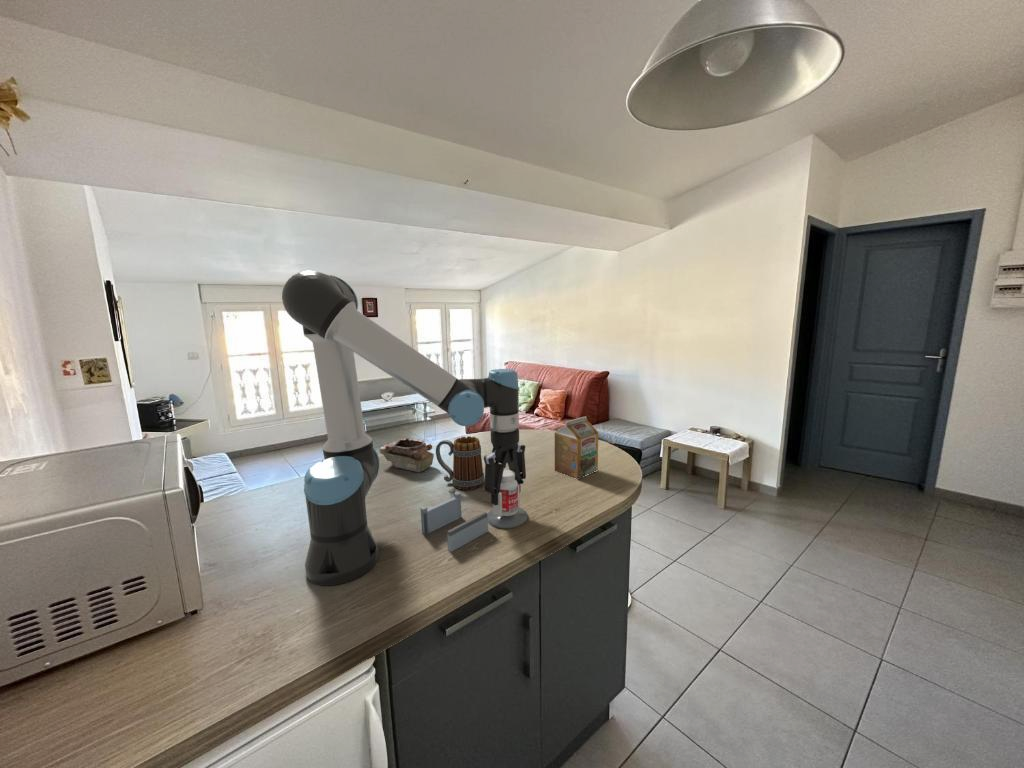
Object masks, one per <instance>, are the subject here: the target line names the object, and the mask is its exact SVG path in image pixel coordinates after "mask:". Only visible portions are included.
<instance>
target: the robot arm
mask: <svg viewBox="0 0 1024 768" xmlns="http://www.w3.org/2000/svg"><path fill="white" fill-rule="evenodd" d="M281 300H282V306H284V310H285V311H286V313H287V315H289V317H291V319H293V320H294V321H295V322H297V323H298V324H299V325H301V326H302V330H303V336H304V337H305V338H307V339H308V340H309V341H310V342H312V347H313V352H314V358H315V366H316V371H317V377H318V378H317V379H318V384H319V390H320V396H321V403H322V409H323V415H324V423H325V429H326V435H327V439H326V440H327V441H326V442H324V444H323V446H322V452H323V459H322V460H321V461H320V462H319V461H318V462H316V463H314V464H313V465H312V466H310V467H309V468H308V469H307V471H306V473H305V474H304V480H303V481H304V484H303V493H304V496H305V503H306V511H307V518H308V519H307V520H308V524H309V533H310V541H309V546H308V549H307V554H306V558H305V562H304V568H305V569H304V570H305V576H306V578H307V580H308V581H310V582H311V583H314V584H315V585H321V586H337V585H340V584H341V585H342V584H345V583H349V582H351V581H354V580H356V579H359V578H360V577H362V576H364V575H365V574H367V573H368V572H369V571H371V569H373V567H375V565H376V564H377V562H378V560H379V547H378V543H377V542H376V539H375V537H374V535H373V534H372V531H371V529H370V528H369V526H368V516H367V506H366V498H367V496H368V493H369V491H370V490H371V487H372V485H373V483H374V482H375V480H376V478H377V476H378V474H379V471H380V457H379V454H378V452H377V451H376V449H375V448H374V443H373V438H372V437H371V436H370V435H369V434H367V433H366V430H365V424H364V416H363V415H364V414H363V410H362V408H363V407H362V403H361V395H360V394H361V393H360V388H359V381H358V376H357V375H358V374H357V367H356V361H355V360H356V359H355V354H357V355H358V356H359V357H361V358H362V359H363V360H366V361H367V362H369V363H370V364H372V365H373V366H374V367H377V368H378V369H379V370H381V371H382V372H383V373H386V374H387V375H389V376H390V377H392V378H394V379H395V380H396V381H398V382H399V383H401V384H402V385H404V386H406V387H408V388H409V389H410V390H412V391H413V392H415V393H416V394H418V395H420V396H421V397H423V398H424V399H426V401H427V400H428V401H429V402H430V403H432V404H433V405H435V406H437V407H438V408H440V410H443V412H445V413H447V414H448V415H449V417H450V418H451V420H452V421H453V422H454V423H455V424H457V425H459V426H462V427H471V426H473V425H476V424H477V423H478V422H480V421H481V419H482V418H483V415H484V412H485V408H489V423H490V424H489V427H490V428H491V429H490V443H491V445H492V450H491V453H489V455H484V456H483V461H484V492H486V493H488V494H490V501H491V504H492V509H493V514H495V515H497V516H499V517H501V516H502V493H501V492H499V491H500V486H501V481H502V476H503V471H504V470H505V469H506V467H508V470H511V471H513V472H514V473H515V480H516V481H517V483H518V507H520V506H521V505H520V503H521V502H520V501H521V500H520V499H521V498H520V495H521V491H522V490H521V488H522V487H521V485H524V483H525V479H526V478H527V472H526V469H527V468H526V459H525V458H526V455H525V453H526V445H525V444H522V443H520V429H519V427H520V426H519V425H520V421H519V414H520V411H519V409H520V404H519V399H520V398H519V396H520V395H519V393H520V392H519V390H520V389H519V388H520V387H519V377H518V375H519V374H518V372H517V371H516V370H515V369H511V368H510V369H509V368H497V369H496V368H495V369H491V370H489V372H488V375H487V377H485V378H484V377H483V378H459V379H458V378H457V377H456V376H455V375H453V374H452V373H450V372H449V371H447V370H445V369H444V368H442V367H441V366H440V365H438V364H437V363H435V362H433V360H431V359H429V358H428V357H426V356H425V355H423V354H422V353H420V351H418V350H416V349H415V348H413V347H411V346H410V345H408V344H407V343H406V342H404V341H403V340H401V339H400V338H398V337H397V336H395V335H394V334H392V333H391V332H389V331H388V330H387V329H385V328H383V327H382V326H380V325H379V324H378V323H376V322H375V321H373V319H370V318H369V317H368V316H366V315H364V314H363V312H360V311H359V310H358V307H359V301H358V296H357V294H356V292H355V291H354V289H353V287H351V286H350V284H348V283H347V282H346V281H345V280H343V279H342V278H340V277H337V276H335V275H330V274H327V273H324V272H320V271H316V270H304V271H300V272H297V273H294V274H293V275H292V276H290V277H289V278H288V279H287V281H286V282H285V284H284V286H283V288H282V292H281ZM507 465H508V466H507ZM520 508H521V507H520Z"/></svg>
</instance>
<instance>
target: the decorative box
mask: <svg viewBox="0 0 1024 768" xmlns="http://www.w3.org/2000/svg"><path fill="white" fill-rule="evenodd" d="M432 449H433V445H432V444H431V443H426V442H425V440H424V439H419V438H414V437H413V438H412V437H405V438H399V439H398V440H395V441H391V442H388V443H386V444H384V445H383V446H381V447H379V453H380V454H381V455H383V456H384V458H385V459H386V461H388V462H390V463H391V464H392V465H393V466H394V468H398V469H403V470H406V471H411V472H415V473H421V472H423V471H426V470H427V469H428V468H429V467H431V466H432V465H433V462H434V458H435V457H434V456H435V454H434V453H432V451H431V450H432Z"/></svg>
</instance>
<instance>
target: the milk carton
mask: <svg viewBox="0 0 1024 768" xmlns="http://www.w3.org/2000/svg"><path fill="white" fill-rule="evenodd" d="M564 425H565V426H562V427H560V428H558V429H556V431H555V432H554V472H556V471H557V473H558V474H561V473H562V474H561V475H564V474H565V475H564V476H566V475H568V476H570V477H569V478H571V477H573V478H576V479H578V478H581V477H583V476H585V475H587V474H590V473H592V472H594V471H596V470H599V465H598V464H599V462H598V461H599V432H598V431H597V429H596V428H595V426H594V425H592V423H590V421H588V418H587V416H582V417H578V418H575V419H571V420H567V421H565V424H564ZM568 476H567V477H568ZM573 478H572V479H573ZM576 479H575V480H576ZM581 479H582V478H581Z"/></svg>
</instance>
